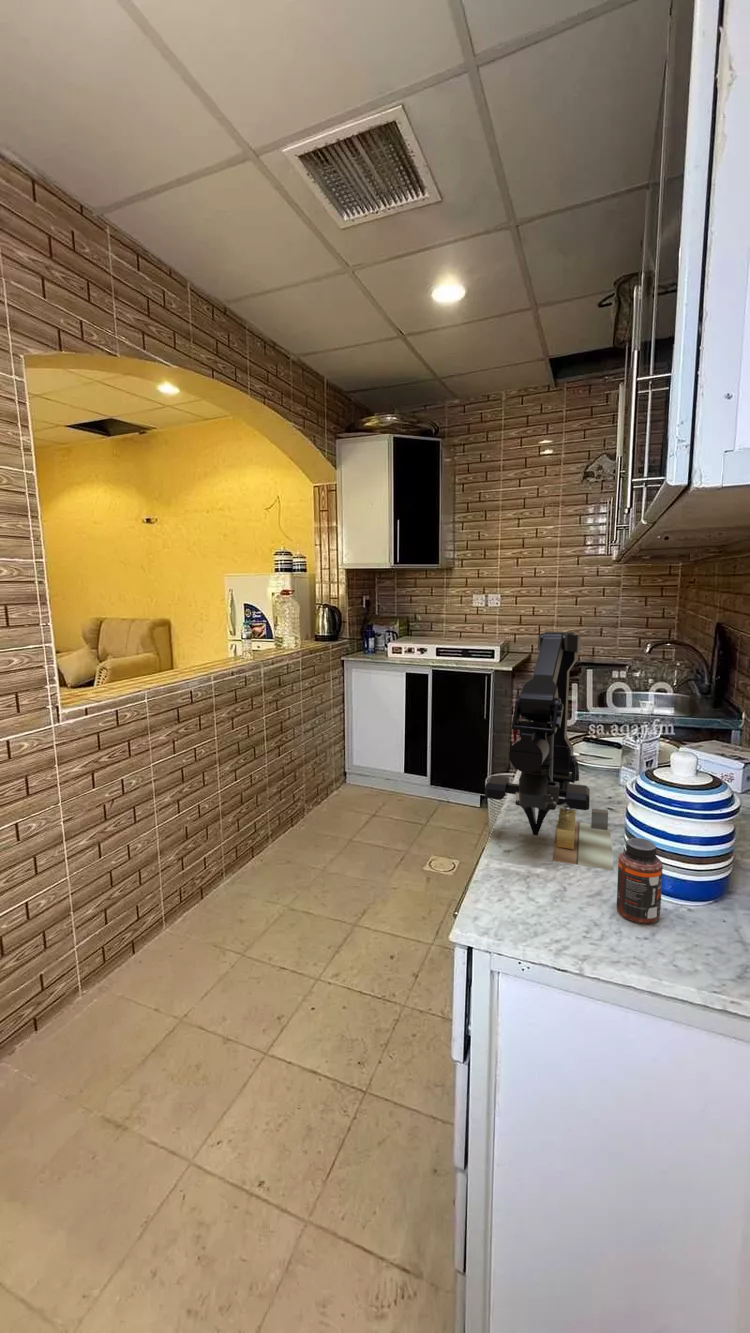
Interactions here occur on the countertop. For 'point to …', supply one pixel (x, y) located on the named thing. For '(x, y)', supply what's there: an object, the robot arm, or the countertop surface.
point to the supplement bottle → (639, 882)
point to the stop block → (599, 819)
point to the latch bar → (566, 828)
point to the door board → (587, 848)
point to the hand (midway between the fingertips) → (535, 834)
